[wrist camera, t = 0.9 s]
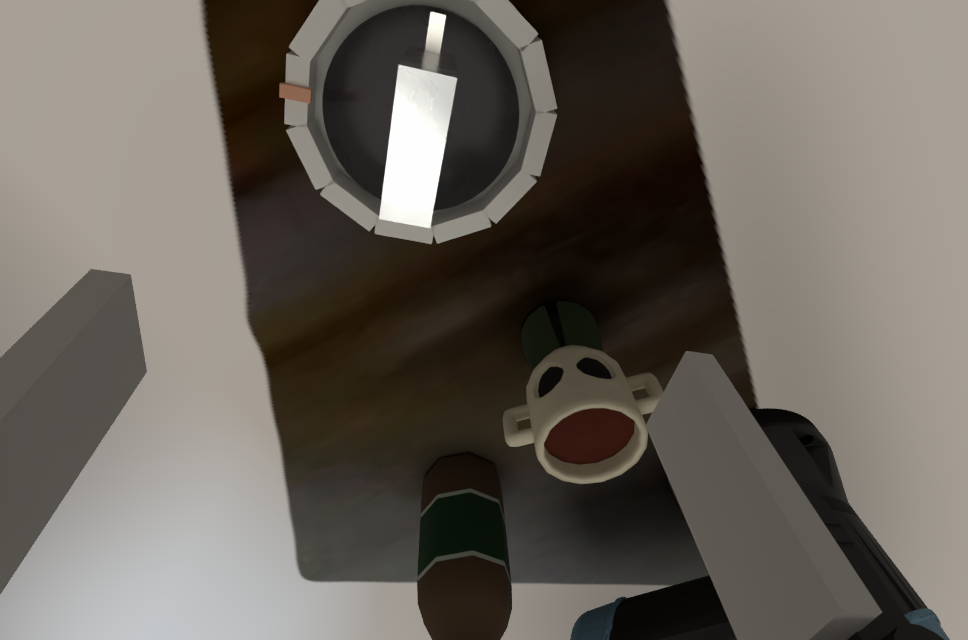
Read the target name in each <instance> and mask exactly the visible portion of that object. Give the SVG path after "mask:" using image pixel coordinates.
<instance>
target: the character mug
mask: <svg viewBox="0 0 968 640" xmlns="http://www.w3.org/2000/svg"><path fill="white" fill-rule="evenodd" d="M556 305H557V309H558V313H552V314H550V315H548V313H547V310H546V307H545V306H541V307H540V308H538V309H537V310H536V311H535V312H533V313H532V314H531V315H530V316H529V317H528V318H527V320H526V322H525V324H524V326H523V328H522V330H521V339H522V348H523V351H524V354H525V357H526V359H527V361H528V364H529V366H530V368H531V370H532V374H531V377H530V379H529V382H528V384H527V387H526V391H527V404H525V405H521V406H518V407H514V408H510V409H508V410H506V411H505V412H504V416H503V426H504V435H505V441H506V443H507V444H508V445H509V446H511V447H519V446H522V445H526V444H530V443H534V444H535V450H536V454H537V458H538V460H539V462H540V463H541V464H542V466H543V467H544V469H545V470H546V471H547V473H549V474H551V475H553V476H555V477H556V478H558V479H560V480H562V481H566V482H572V483H578V484H589V483H598V482H604V481H606V480H609V479H611V478H614V477H616V476H619V475H622V474H623V473H624V472H626V471H627V470H628V469H629V468H631V467H632V466H633V465H635V464H636V463H637V462H638V461H639V459H640V457H641V456H642V454H643V453H644V451H645V449H646V448H647V439H648V430H647V428H646V424H645V421H644V419H643V417H642V415H643V414H647V413H651V412H653V411H654V409H655V407H656V405H657V404H658V402H659V400H660V398H661V396H662V394H663V393H664V392H663V390H662V388H661V386H660V384H659V382H658V380H657V378H656V377H655V376H654V375H653V374H651V373H642V374H638V375H634V376H631V377H627V378H626V377H625V375H624V374H623V372H622V370H621V368H620V366H619V364H618V363H617V362H616V361H615V360H613V359H612V358H611V357H609V356H608V355H606V354H605V353H604V352H603V349H602V343H601V337H600V333H599V329H598V325H597V323H596V322H595V320H594V318H593V316H592V314H591V312H590V311H588V310H587V309H585V308H584V307H582V306H580V305H579V304H577V303H572V302H564V301H559V302H556ZM642 388H646V390H647V393H648V395H649V397H647V398H643V399H639V400H635V399H634V396H633V394H632V392H631V391H635V390H639V389H642ZM528 418H530V421H531V428H528V429H524V430H520V431H518V426H517V421H520V420H524V419H528Z"/></svg>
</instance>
